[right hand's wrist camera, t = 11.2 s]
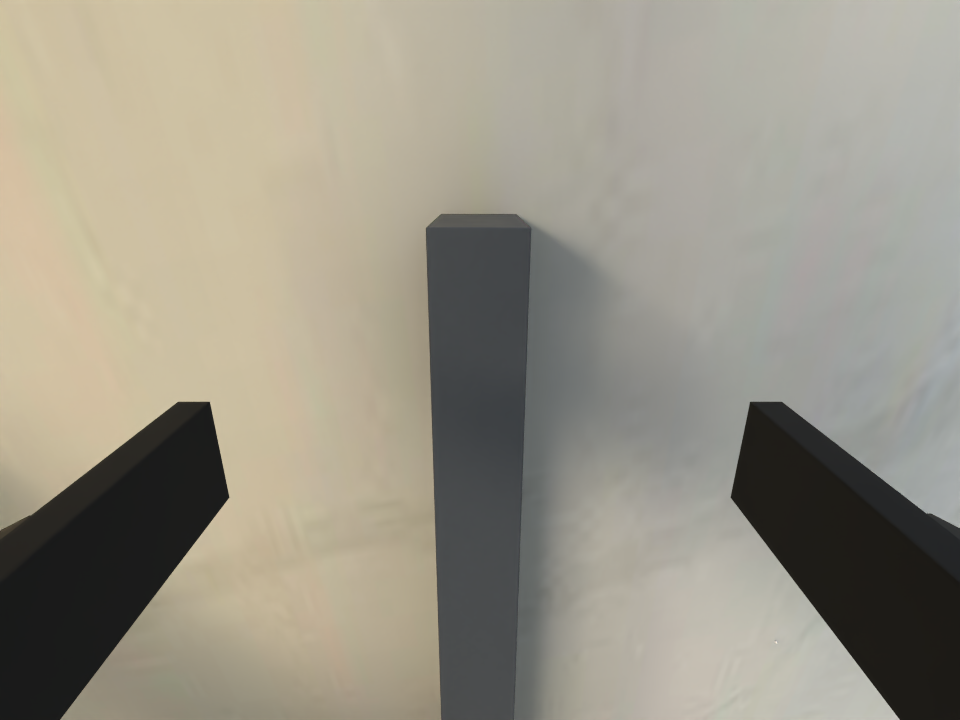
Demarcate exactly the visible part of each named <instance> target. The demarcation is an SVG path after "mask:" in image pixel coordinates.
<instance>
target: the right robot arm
mask: <svg viewBox="0 0 960 720" xmlns="http://www.w3.org/2000/svg"><path fill="white" fill-rule="evenodd" d="M228 498H229V494H228V489H227V484H226V479H225V474H224V469H223V464H222V459H221V455H220V450H219V445H218V440H217V435H216V430H215V425H214V420H213V416H212V411H211V406H210V402H177V403H176V404H175V405H173V406H172V407H171V408H170V409H168V410H167V411H166V412H164V413H163V414H162V415H161V416H159V417H158V418H157V419H155V420H154V421H153V422H152V423H150V424H149V425H148V426H146V427H145V428H144V429H142V430H141V431H140V432H139V433H137V434H136V435H135V436H133V437H132V438H131V439H130V440H128V441H127V442H126V443H124V444H123V445H122V446H121V447H119V448H118V449H117V450H115V451H114V452H113V453H111V454H110V455H109V456H108V457H106V458H105V459H104V460H102V461H101V462H100V463H99V464H97V465H96V466H95V467H93V468H92V469H91V470H89V471H88V472H87V473H86V474H84V475H83V476H82V477H80V478H79V479H78V480H77V481H75V482H74V483H73V484H71V485H70V486H69V487H68V488H66V489H65V490H64V491H62V492H61V493H60V494H58V495H57V496H56V497H55V498H53V499H52V500H51V501H49V502H48V503H47V504H46V505H44V506H43V507H42V508H40V509H39V510H38V511H37V512H35V513H34V514H33V515H31V516H28V517H26V518H24V519H22V520H20V521H18V522H16V523H14V524H12V525H10V526H8V527H6V528H5V529H3V530H1V531H0V720H60V719H61V718H62V716H63V715H64V714H65V712H66V711H67V710H68V709H69V707H70V706H71V705H72V703H73V702H74V701H75V699H76V698H77V697H78V695H79V694H80V693H81V691H82V690H83V689H84V688H85V686H86V685H87V684H88V682H89V681H90V680H91V678H92V677H93V676H94V674H95V673H96V672H97V670H98V669H99V668H100V667H101V665H102V664H103V663H104V661H105V660H106V659H107V657H108V656H109V655H110V653H111V652H112V651H113V649H114V648H115V647H116V646H117V644H118V643H119V642H120V640H121V639H122V638H123V636H124V635H125V634H126V632H127V631H128V630H129V628H130V627H131V626H132V625H133V623H134V622H135V621H136V619H137V618H138V617H139V615H140V614H141V613H142V611H143V610H144V609H145V607H146V606H147V605H148V604H149V602H150V601H151V600H152V598H153V597H154V596H155V594H156V593H157V592H158V590H159V589H160V588H161V586H162V585H163V584H164V583H165V581H166V580H167V579H168V577H169V576H170V575H171V573H172V572H173V571H174V569H175V568H176V567H177V565H178V564H179V563H180V562H181V560H182V559H183V558H184V556H185V555H186V554H187V552H188V551H189V550H190V548H191V547H192V546H193V544H194V543H195V542H196V541H197V539H198V538H199V537H200V535H201V534H202V533H203V531H204V530H205V529H206V527H207V526H208V525H209V523H210V522H211V521H212V519H213V518H214V517H215V516H216V514H217V513H218V512H219V510H220V509H221V508H222V506H223V505H224V504H225V502H226V501H227V500H228ZM731 498H732V500H733V501H734V502H735V504H736V505H737V506H738V508H739V509H740V510H741V512H742V513H743V514H744V516H745V517H746V518H747V519H748V521H749V522H750V523H751V525H752V526H753V527H754V529H755V530H756V531H757V533H758V534H759V535H760V537H761V538H762V539H763V541H764V542H765V543H766V544H767V546H768V547H769V548H770V550H771V551H772V552H773V554H774V555H775V556H776V558H777V559H778V560H779V562H780V563H781V564H782V565H783V567H784V568H785V569H786V571H787V572H788V573H789V575H790V576H791V577H792V579H793V580H794V581H795V583H796V584H797V585H798V586H799V588H800V589H801V590H802V592H803V593H804V594H805V596H806V597H807V598H808V600H809V601H810V602H811V604H812V605H813V606H814V607H815V609H816V610H817V611H818V613H819V614H820V615H821V617H822V618H823V619H824V621H825V622H826V623H827V625H828V626H829V627H830V628H831V630H832V631H833V632H834V634H835V635H836V636H837V638H838V639H839V640H840V642H841V643H842V644H843V646H844V647H845V648H846V649H847V651H848V652H849V653H850V655H851V656H852V657H853V659H854V660H855V661H856V663H857V664H858V665H859V667H860V668H861V669H862V670H863V672H864V673H865V674H866V676H867V677H868V678H869V680H870V681H871V682H872V684H873V685H874V686H875V688H876V689H877V690H878V691H879V693H880V694H881V695H882V697H883V698H884V699H885V701H886V702H887V703H888V705H889V706H890V707H891V709H892V710H893V711H894V712H895V714H896V715H897V716H898V718H899V719H900V720H960V528H958V527H956V526H954V525H952V524H950V523H948V522H946V521H944V520H942V519H940V518H939V517H937V516H935V515H933V514H926V513H925V512H923V511H922V510H921V509H920V508H918V507H917V506H916V505H914V504H913V503H912V502H911V501H909V500H908V499H907V498H905V497H904V496H903V495H902V494H900V493H899V492H898V491H896V490H895V489H894V488H892V487H891V486H890V485H889V484H887V483H886V482H885V481H883V480H882V479H881V478H880V477H878V476H877V475H876V474H874V473H873V472H872V471H871V470H869V469H868V468H867V467H865V466H864V465H863V464H861V463H860V462H859V461H858V460H856V459H855V458H854V457H852V456H851V455H850V454H849V453H847V452H846V451H845V450H843V449H842V448H841V447H839V446H838V445H837V444H836V443H834V442H833V441H832V440H830V439H829V438H828V437H827V436H825V435H824V434H823V433H821V432H820V431H819V430H818V429H816V428H815V427H814V426H812V425H811V424H810V423H808V422H807V421H806V420H805V419H803V418H802V417H801V416H799V415H798V414H797V413H796V412H794V411H793V410H792V409H790V408H789V407H788V406H787V405H785V404H784V403H783V402H750V406H749V411H748V416H747V420H746V425H745V430H744V435H743V440H742V445H741V450H740V455H739V459H738V464H737V469H736V474H735V479H734V484H733V489H732V494H731Z"/></svg>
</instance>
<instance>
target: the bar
mask: <svg viewBox="0 0 960 720" xmlns="http://www.w3.org/2000/svg"><path fill="white" fill-rule="evenodd" d="M426 246H427V278H428V310H429V341H430V373H431V405H432V437H433V469H434V500H435V532H436V564H437V596H438V627H439V659H440V691H441V720H514V700H515V671H516V643H517V615H518V586H519V558H520V530H521V501H522V473H523V445H524V416H525V388H526V360H527V331H528V303H529V275H530V246H531V228H530V227H529V226H528V225H527V224H526V223H525V222H524V221H523V220H522V219H521V218H520V217H519V216H518V215H516V214H441V215H440V216H439V217H437V218H436V219H435V220H434V221H433V222H432V223H431V224H430V225H429V226H428V227H427V228H426Z"/></svg>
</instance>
